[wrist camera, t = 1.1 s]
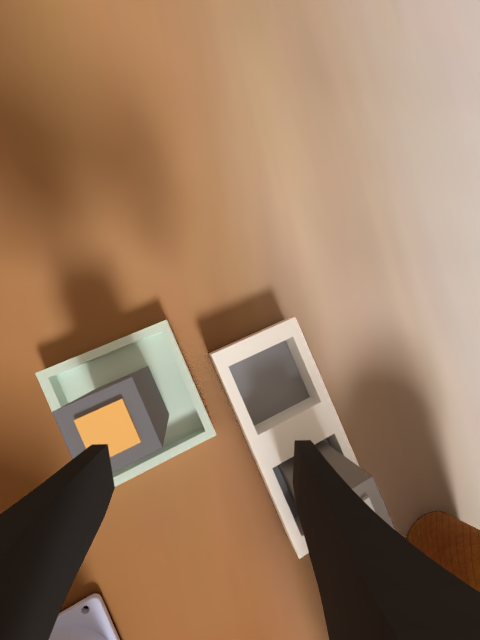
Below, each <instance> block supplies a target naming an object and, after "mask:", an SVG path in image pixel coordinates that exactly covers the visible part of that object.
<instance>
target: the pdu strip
mask: <svg viewBox="0 0 480 640" xmlns="http://www.w3.org/2000/svg"><path fill="white" fill-rule="evenodd" d="M208 354H209V356H210V359H211V361H212V363H213V366H214V368H215V370H216V373H217V375H218V377H219V379H220V382H221V384H222V386H223V389H224V391H225V393H226V396H227V398H228V400H229V403H230V405H231V407H232V410H233V412H234V414H235V417H236V419H237V421H238V424H239V426H240V428H241V430H242V433H243V435H244V437H245V440H246V442H247V444H248V447H249V449H250V451H251V454H252V456H253V458H254V461H255V463H256V465H257V468H258V470H259V472H260V474H261V477H262V479H263V481H264V484H265V486H266V488H267V491H268V493H269V495H270V498H271V500H272V502H273V505H274V507H275V509H276V512H277V514H278V516H279V519H280V521H281V523H282V525H283V528H284V530H285V532H286V535H287V537H288V539H289V541H290V543H291V544H292V546H293V548H294V550H295V552H296V554H297V556H298V558H299V559H300V558H302V557H303V556H305V555H306V554H308V553H309V551H308V548H307V544H306V541H305V537H304V533H303V530H302V526H301V523H300V519H299V515H298V512H297V508H296V507H295V504H294V502H293V500H292V497H291V495H290V493H289V490H288V488H287V486H286V483H285V481H284V479H283V476H282V474H281V472H280V470H279V467H278V465H279V464H281V463H283V462H284V461H286V460H288V459H290V458H291V457H293V456H294V442H295V440H311V441H312V442H313V443H314V445H315V444H316V443H318V442H320V441H322V440H323V441H324V442H325V443H327V444H328V445H330V446H331V447H332V448H334V449H335V450H337V451H338V452H339V453H341V454H342V455H344V456H345V457H346V458H348V459H349V460H351V461H352V462H353V463H355V464H356V465H358V466H359V464H358V462H357V459H356V457H355V455H354V452H353V450H352V448H351V445H350V443H349V441H348V438H347V436H346V434H345V431H344V429H343V427H342V424H341V422H340V420H339V417H338V415H337V413H336V410H335V408H334V406H333V403H332V401H331V399H330V396H329V394H328V392H327V389H326V387H325V385H324V382H323V380H322V378H321V375H320V373H319V371H318V368H317V366H316V364H315V361H314V359H313V357H312V354H311V352H310V350H309V347H308V345H307V343H306V340H305V338H304V336H303V333H302V331H301V329H300V326H299V324H298V322H297V319H296V317H292V318H288V319H284V320H281V321H279V322H277V323H275V324H273V325H270V326H268V327H266V328H264V329H261V330H259V331H257V332H255V333H252V334H250V335H248V336H246V337H243V338H241V339H239V340H237V341H234V342H232V343H230V344H228V345H226V346H223V347H221V348H219V349H217V350H214V351H212V352H210V353H208ZM359 467H360V466H359Z"/></svg>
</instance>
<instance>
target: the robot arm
mask: <svg viewBox="0 0 480 640" xmlns="http://www.w3.org/2000/svg"><path fill="white" fill-rule="evenodd" d="M114 488H115V486H114V480H113V474H112V468H111V461H110V455H109V449H108V444H92V445H91V446H89V447H88V448H86V449H85V450H84V451H83V452H81V453H80V454H79V455H78V456H76V457H75V458H74V459H73V460H71V461H70V462H69V463H68V464H66V465H65V466H64V467H63V468H61V469H60V470H59V471H58V472H56V473H55V474H54V475H52V476H51V477H50V478H49V479H47V480H46V481H45V482H44V483H42V484H41V485H40V486H38V487H37V488H36V489H34V490H33V491H32V492H30V493H29V494H28V495H26V496H25V497H24V498H22V499H21V500H19V501H18V502H17V503H15V504H14V505H13V506H11V507H10V508H9V509H7V510H6V511H4V512H3V513H2V514H0V640H120V639H119V636H118V634H117V632H116V629H115V627H114V625H113V623H112V620H111V618H110V616H109V613H108V611H107V609H106V607H105V604H104V602H103V600H102V597H101V596H100V595H99V594H92V595H90V596H88V597H86V598H85V599H83V600H81V601H80V602H78V603H76V604H74V605H73V606H71V607H69V608H67V609H66V610H64V611H62V612H60V610H61V607H62V605H63V602H64V600H65V598H66V596H67V593H68V591H69V589H70V587H71V585H72V583H73V581H74V579H75V577H76V574H77V572H78V570H79V568H80V566H81V564H82V562H83V560H84V558H85V556H86V554H87V552H88V550H89V548H90V546H91V544H92V542H93V539H94V537H95V535H96V533H97V531H98V529H99V527H100V525H101V523H102V521H103V518H104V516H105V514H106V511H107V508H108V505H109V503H110V500H111V497H112V494H113V491H114ZM293 489H294V495H295V501H296V506H297V512H298V515H299V519H300V523H301V526H302V530H303V533H304V537H305V541H306V544H307V548H308V551H309V555H310V558H311V562H312V565H313V569H314V572H315V576H316V579H317V583H318V587H319V591H320V595H321V600H322V605H323V609H324V614H325V619H326V624H327V629H328V634H329V639H330V640H480V592H479V591H477V590H475V589H474V588H472V587H471V586H469V585H468V584H466V583H465V582H463V581H462V580H461V579H459V578H458V577H456V576H455V575H453V574H452V573H450V572H449V571H448V570H446V569H445V568H443V567H442V566H441V565H439V564H438V563H436V562H435V561H434V560H432V559H431V558H430V557H428V556H427V555H426V554H424V553H423V552H422V551H421V550H419V549H418V548H417V547H415V546H414V545H413V544H412V543H410V542H409V541H408V540H406V539H405V538H404V537H403V536H402V535H400V534H399V533H398V532H397V531H395V530H394V529H393V528H392V527H391V526H390V525H389V524H388V523H386V522H385V521H384V520H383V519H382V518H381V517H380V516H379V515H377V514H376V513H375V512H374V511H373V510H372V509H371V508H370V507H369V506H368V505H367V504H366V503H365V502H364V501H363V500H362V499H361V498H360V497H359V496H358V495H357V494H356V493H355V492H354V491H353V490H352V488H351V487H350V486H349V485H348V484H347V483H346V482H345V481H344V480H343V479H342V477H341V476H340V475H339V474H338V473H337V472H336V471H335V469H334V468H333V467H332V466H331V465H330V463H329V462H328V461H327V460H326V459H325V457H324V456H323V455H322V454H321V452H320V451H319V450H318V449H317V447H316V446H315V445H314V443H313V442H312V441H311V440H295V442H294V463H293ZM84 606H88V607H89V608H88V609H85V608H84ZM59 612H60V613H59Z"/></svg>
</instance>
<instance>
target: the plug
mask: <svg viewBox="0 0 480 640" xmlns="http://www.w3.org/2000/svg"><path fill="white" fill-rule="evenodd" d="M52 413H53V415H54V417H55V420H56V422H57V424H58V427H59V429H60V431H61V433H62V436H63V438H64V440H65V443H66V445H67V447H68V450H69V452H70V454H71V456H72V459H74V458H75V457H76V456H78V455H79V454H80V453H81V452H83V451H84V450H85V449H86V448H88V447H89V446H91V445H92V444H108V449H109V455H110V461H111V468H112V473H113V472H115V471H117V470H119V469H121V468H123V467H125V466H127V465H129V464H131V463H133V462H135V461H137V460H139V459H141V458H143V457H145V456H147V455H149V454H151V453H153V452H155V451H157V450H159V449H161V448H163V443H164V438H165V433H166V429H167V424H168V419H169V412H168V410H167V408H166V406H165V403H164V401H163V399H162V396H161V394H160V392H159V389H158V387H157V385H156V382H155V380H154V378H153V376H152V373H151V371H150V369H149V366H147V367H145V368H142V369H140V370H138V371H135V372H133V373H131V374H129V375H126V376H124V377H122V378H119V379H117V380H115V381H113V382H110V383H108V384H106V385H103V386H101V387H99V388H96V389H94V390H92V391H91V392H89V393H87V394H85V395H83V396H81V397H79V398H77V399H76V400H74V401H72V402H70V403H68V404H66V405H64V406H62V407H60V408H59V409H57V410H55V411H53V412H52Z"/></svg>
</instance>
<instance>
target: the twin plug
mask: <svg viewBox="0 0 480 640" xmlns="http://www.w3.org/2000/svg"><path fill="white" fill-rule="evenodd" d="M315 446H316V447H317V449H318V450H319V451H320V452H321V454H322V455H323V456H324V457H325V459H326V460H327V461H328V462H329V463H330V465H331V466H332V467H333V468H334V469H335V471H336V472H337V473H338V474H339V475H340V476H341V477H342V479H343V480H344V481H345V482H346V483H347V484H348V485H349V486H350V487H351V488H352V490H353V491H354V492H355V493H356V494H357V495H358V496H359V497H360V498H361V499H362V500H363V501H364V502H365V503H366V504H367V505H368V506H369V507H370V508H371V509H372V510H373V511H374V512H375V513H376V514H377V515H379V516H380V517H381V518H382V519H383V520H384V521H385V522H386V523H388V524H389V525H390V526H391V527H392V528H393V529H394V530H395V527H394V525H393V523H392V520H391V518H390V516H389V513H388V511H387V509H386V506H385V504H384V502H383V499H382V497H381V495H380V492H379V490H378V488H377V485H376V483H375V481H374V478H373V476H372V475H370V474H369V473H367V472H366V471H365V470H363V469H362V468H360V467H359V466H358V465H356V464H355V463H353V462H352V461H351V460H349V459H348V458H346V457H345V456H344V455H342V454H341V453H339V452H338V451H337V450H335V449H334V448H332V447H331V446H330V445H328V444H327V443H325V442H324V441H323V440H322V441H320V442H318V443H316V444H315ZM293 463H294V456H293V457H291V458H290V459H288V460H286V461H284V462H283V463H281V464H279V465H278V467H279V470H280V472H281V474H282V476H283V479H284V481H285V483H286V486H287V488H288V490H289V493H290V495H291V497H292V500H293V502H294V504H295V507H296V508H297V506H296V501H295V495H294V489H293ZM395 531H396V530H395Z"/></svg>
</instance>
